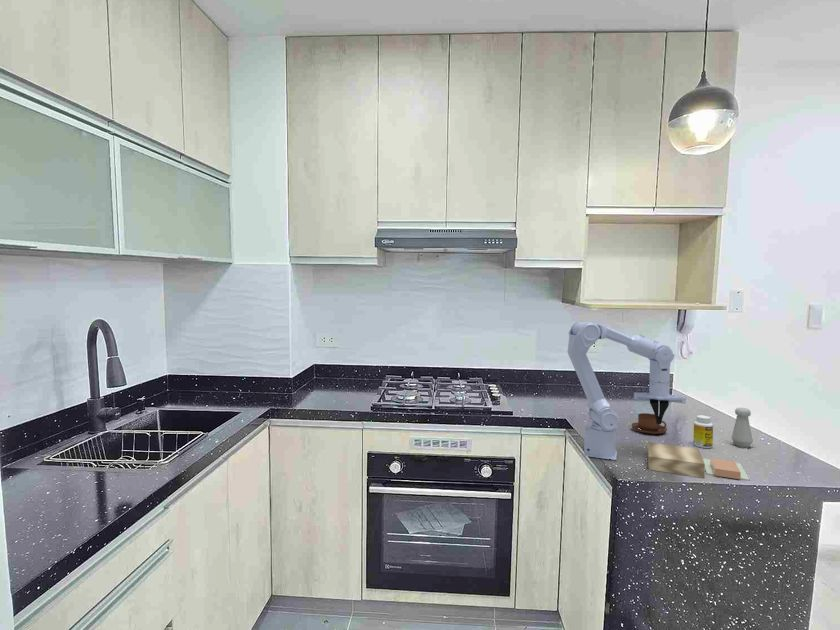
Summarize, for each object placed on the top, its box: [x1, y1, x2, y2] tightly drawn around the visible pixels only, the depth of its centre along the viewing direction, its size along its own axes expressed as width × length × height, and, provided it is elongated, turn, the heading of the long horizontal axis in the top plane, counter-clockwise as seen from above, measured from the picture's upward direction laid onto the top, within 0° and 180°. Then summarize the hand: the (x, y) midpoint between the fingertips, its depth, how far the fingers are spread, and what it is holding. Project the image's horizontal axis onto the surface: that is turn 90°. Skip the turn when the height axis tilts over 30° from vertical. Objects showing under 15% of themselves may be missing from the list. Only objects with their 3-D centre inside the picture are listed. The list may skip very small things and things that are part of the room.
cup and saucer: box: [631, 412, 668, 435], centre depth 167 cm, size 12×12×6 cm
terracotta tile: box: [710, 457, 742, 480], centre depth 127 cm, size 6×9×2 cm, turn 153°
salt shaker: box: [731, 407, 754, 449], centre depth 150 cm, size 6×6×13 cm
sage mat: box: [703, 458, 750, 481], centre depth 130 cm, size 10×13×1 cm
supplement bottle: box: [692, 414, 714, 449], centre depth 150 cm, size 6×6×10 cm
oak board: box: [647, 441, 706, 479], centre depth 133 cm, size 14×14×4 cm
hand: (658, 423), depth 141 cm, fingers closed
